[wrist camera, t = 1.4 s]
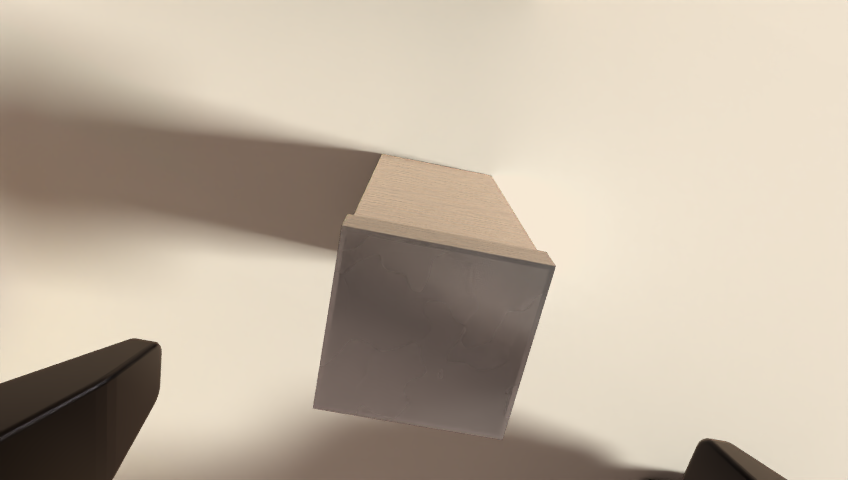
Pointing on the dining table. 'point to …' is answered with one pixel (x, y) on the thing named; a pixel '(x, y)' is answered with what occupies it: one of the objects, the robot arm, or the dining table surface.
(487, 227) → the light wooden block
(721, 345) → the dining table surface
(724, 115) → the dining table surface
